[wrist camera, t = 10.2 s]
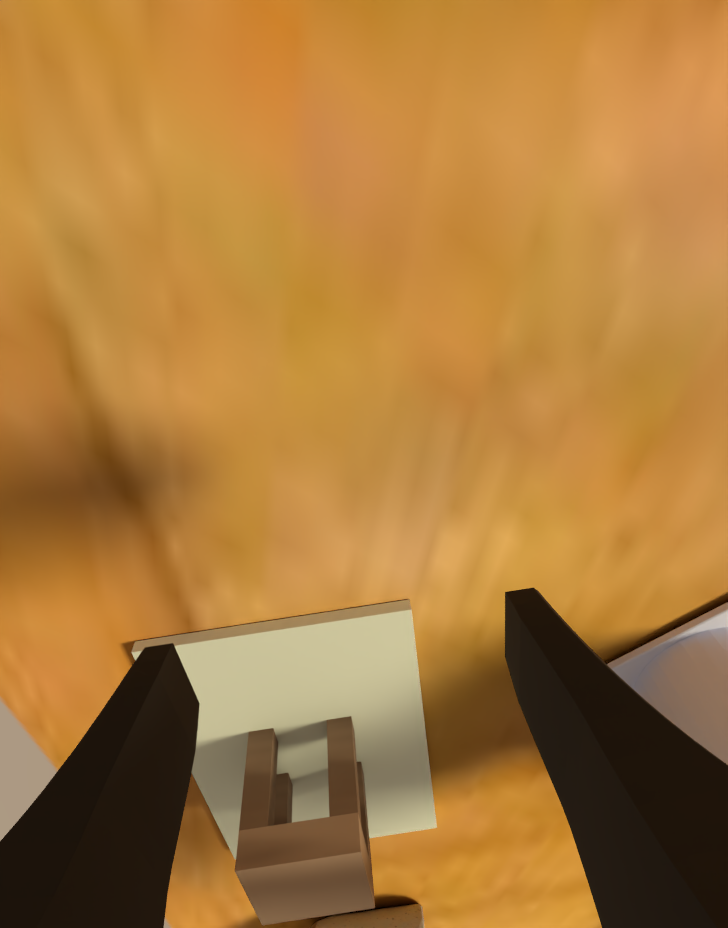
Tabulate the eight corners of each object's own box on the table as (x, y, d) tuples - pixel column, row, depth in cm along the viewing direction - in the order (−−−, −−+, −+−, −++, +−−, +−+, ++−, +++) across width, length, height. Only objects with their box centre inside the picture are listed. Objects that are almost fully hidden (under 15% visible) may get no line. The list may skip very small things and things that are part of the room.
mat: (434, 817, 34) (436, 827, 34) (235, 847, 34) (234, 859, 34) (409, 599, 25) (411, 609, 24) (135, 641, 25) (131, 652, 24)
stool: (363, 774, 30) (375, 907, 25) (270, 788, 30) (262, 925, 25) (351, 716, 28) (360, 851, 22) (248, 731, 28) (234, 871, 22)
